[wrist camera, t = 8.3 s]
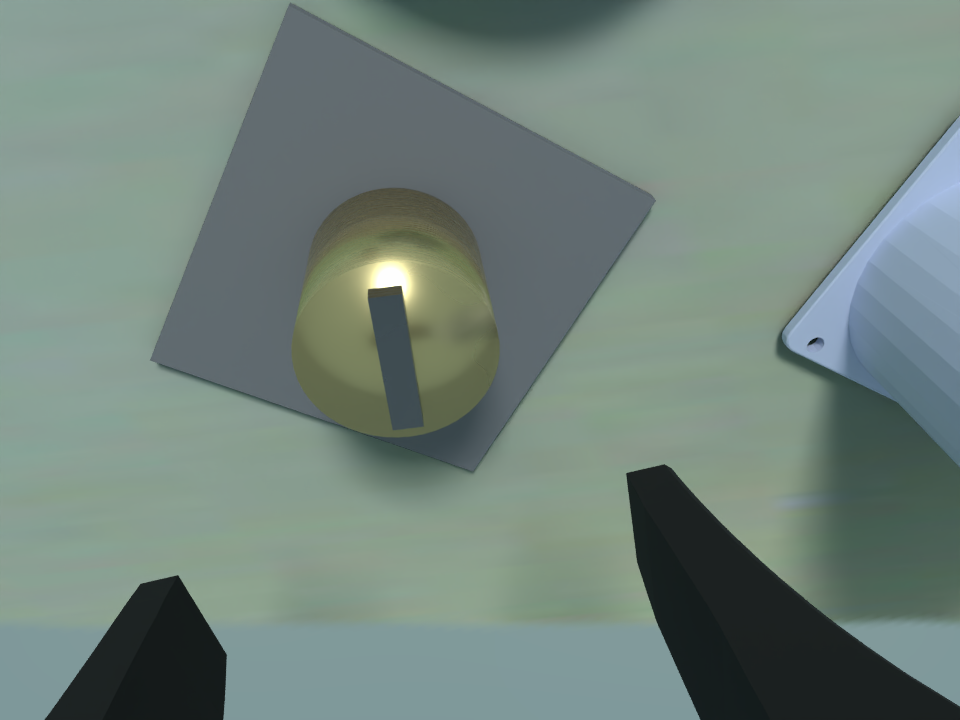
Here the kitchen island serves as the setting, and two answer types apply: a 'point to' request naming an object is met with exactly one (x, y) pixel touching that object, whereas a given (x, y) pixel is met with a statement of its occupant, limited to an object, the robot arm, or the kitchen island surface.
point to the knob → (395, 316)
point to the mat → (375, 165)
